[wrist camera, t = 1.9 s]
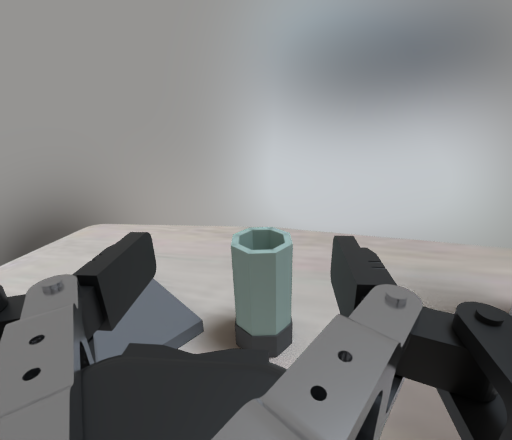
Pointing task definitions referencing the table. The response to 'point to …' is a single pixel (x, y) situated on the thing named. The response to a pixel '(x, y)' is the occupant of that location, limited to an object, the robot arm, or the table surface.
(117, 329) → the pin board
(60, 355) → the robot arm
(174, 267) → the table surface
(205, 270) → the table surface
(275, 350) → the sleeve
